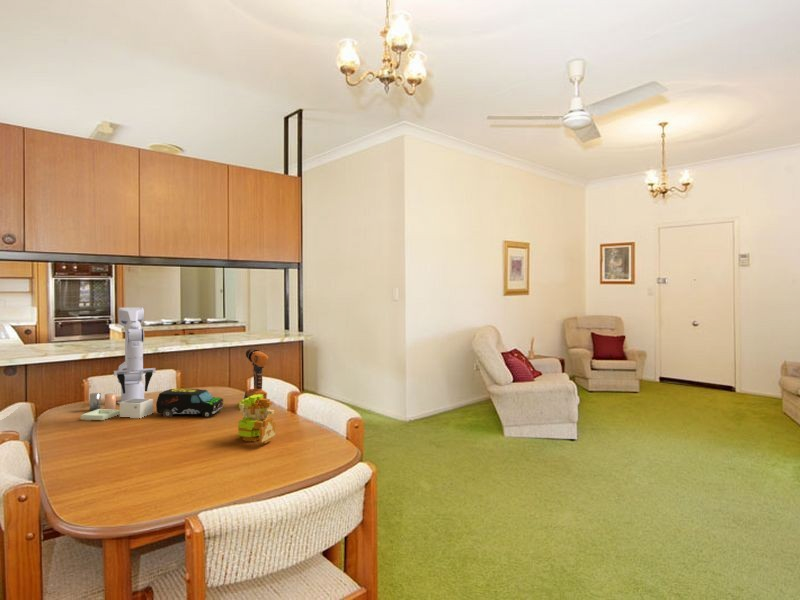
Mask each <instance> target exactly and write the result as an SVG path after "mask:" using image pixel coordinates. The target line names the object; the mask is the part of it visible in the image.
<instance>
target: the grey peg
mask: <svg viewBox="0 0 800 600" xmlns="http://www.w3.org/2000/svg"><path fill="white" fill-rule="evenodd" d="M101 396H102V393H101V392H92V393H89V412H91V411H94V410H97V409H102V405H101V404H102V403H101V402H102V401H101V400H102V398H101Z"/></svg>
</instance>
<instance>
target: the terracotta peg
mask: <svg viewBox="0 0 800 600" xmlns="http://www.w3.org/2000/svg"><path fill="white" fill-rule="evenodd" d="M116 400H117V398H116V393H106V394H104V409H111V410H117V409H116V407H117V402H116Z"/></svg>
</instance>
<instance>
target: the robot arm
mask: <svg viewBox="0 0 800 600" xmlns="http://www.w3.org/2000/svg"><path fill="white" fill-rule="evenodd" d="M117 314H118V317H117V318H118V325H119V326H123V329H124V352H125V353H124V355H125V356H124V362H122V363H121V364H120V365H118V368H117V370H113V376H116V377H117V382H118V383H119V384H120V394H121V395H120V399H121V400H120V401H117V402H116V404H117V403H118V404H119V405H120V403H121V402H124V401H127V400H130V399H133V398H137V399H145V392H148V389H149V388H148V387H149V384H150V381H151V379H152V377H153V375H154V373H156V367H151V368H144V351H143V350H144V348H143V347H144V344H143V343H144V341H145V331H144V328H142V324H143V322H144V320H145V319H144V318H145V309H144V308H143V306H141V307H119V308H118V313H117ZM143 377H144V378H143ZM143 379H144V383H143V382H142V381H143ZM118 404H117V405H118Z"/></svg>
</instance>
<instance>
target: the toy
mask: <svg viewBox="0 0 800 600" xmlns="http://www.w3.org/2000/svg"><path fill="white" fill-rule="evenodd" d="M272 405H273V401H270V398H266V399H264V398H263V394H258V395H252V396H250V397H248V398H246V399H244V398H243V399H242V400H240V402H239V403H238V409H239V413H241V415H242V416H243V417H242V419H241V420H239V421H238V434H237V435H238V436H240V437H242V441H243V440H245V441H244V442H251V441H254V442H253V443H256V442H257V440H258V442H259V443H261V444H267V443H268V442H270V441H272V440H273V437H274V436H276V421H273V419H274V418H273V417H271V416H270V415H273V414H275V410H274V409H271V406H272ZM255 441H256V442H255Z"/></svg>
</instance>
